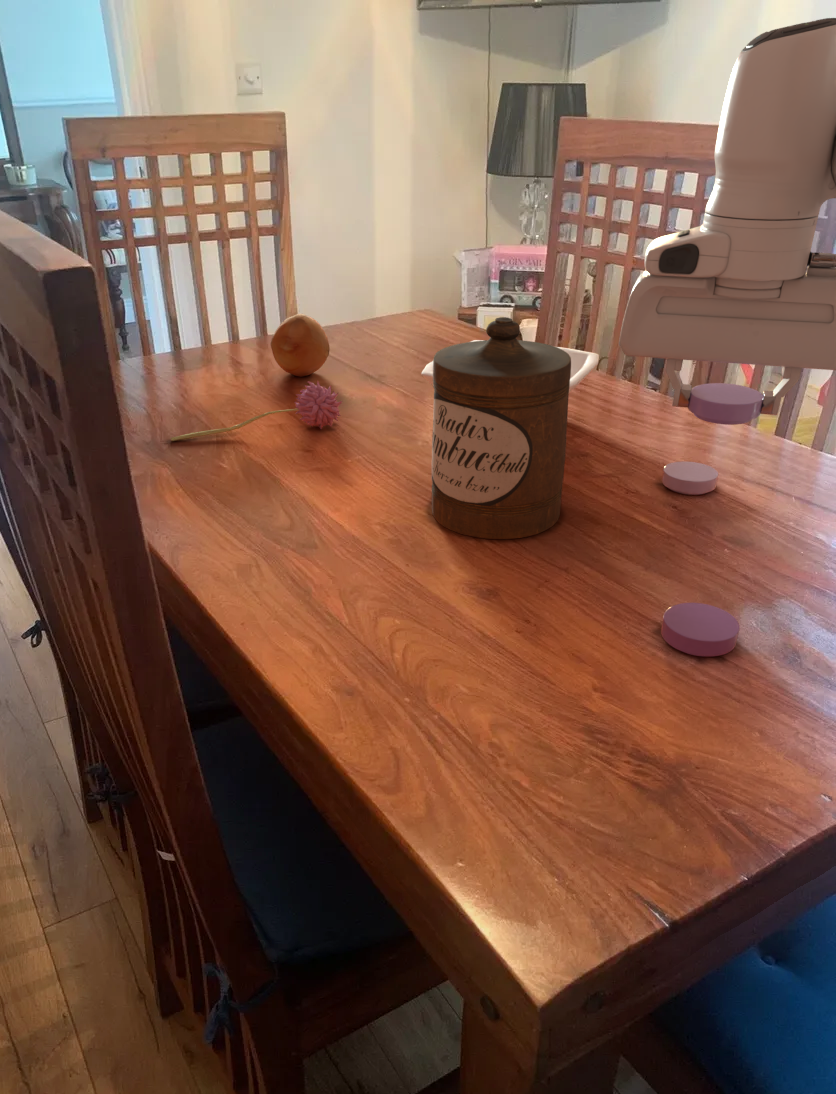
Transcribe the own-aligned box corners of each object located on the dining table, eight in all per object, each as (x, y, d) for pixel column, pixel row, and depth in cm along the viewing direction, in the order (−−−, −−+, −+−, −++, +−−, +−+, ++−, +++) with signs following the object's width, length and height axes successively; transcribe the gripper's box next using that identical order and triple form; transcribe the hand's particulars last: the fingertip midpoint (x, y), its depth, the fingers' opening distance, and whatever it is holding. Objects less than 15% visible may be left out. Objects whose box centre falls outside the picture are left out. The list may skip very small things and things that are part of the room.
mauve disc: (734, 628, 79) (739, 608, 77) (735, 667, 73) (740, 646, 72) (662, 617, 80) (665, 597, 79) (657, 654, 75) (661, 634, 74)
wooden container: (405, 514, 100) (404, 320, 89) (484, 477, 109) (492, 297, 98) (507, 554, 91) (520, 345, 80) (584, 510, 100) (606, 316, 89)
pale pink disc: (715, 480, 107) (718, 464, 106) (715, 500, 102) (718, 484, 101) (662, 474, 109) (665, 458, 108) (659, 494, 104) (661, 477, 103)
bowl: (603, 407, 132) (609, 351, 128) (557, 457, 115) (563, 395, 110) (469, 388, 141) (471, 336, 136) (408, 433, 123) (408, 374, 119)
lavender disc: (758, 407, 82) (762, 386, 81) (760, 430, 77) (765, 407, 76) (687, 401, 84) (691, 380, 83) (685, 423, 79) (689, 400, 78)
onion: (273, 367, 153) (268, 309, 148) (329, 365, 154) (326, 307, 149) (272, 383, 145) (267, 323, 140) (331, 381, 145) (329, 320, 140)
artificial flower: (180, 471, 119) (351, 426, 123) (164, 422, 117) (340, 377, 121) (178, 462, 125) (342, 419, 129) (163, 415, 123) (331, 372, 127)
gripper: (884, 249, 73) (841, 408, 80) (634, 240, 78) (615, 390, 85) (896, 262, 68) (850, 431, 75) (628, 252, 73) (609, 410, 80)
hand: (723, 409), depth 80 cm, fingers closed on lavender disc, 6 cm apart
